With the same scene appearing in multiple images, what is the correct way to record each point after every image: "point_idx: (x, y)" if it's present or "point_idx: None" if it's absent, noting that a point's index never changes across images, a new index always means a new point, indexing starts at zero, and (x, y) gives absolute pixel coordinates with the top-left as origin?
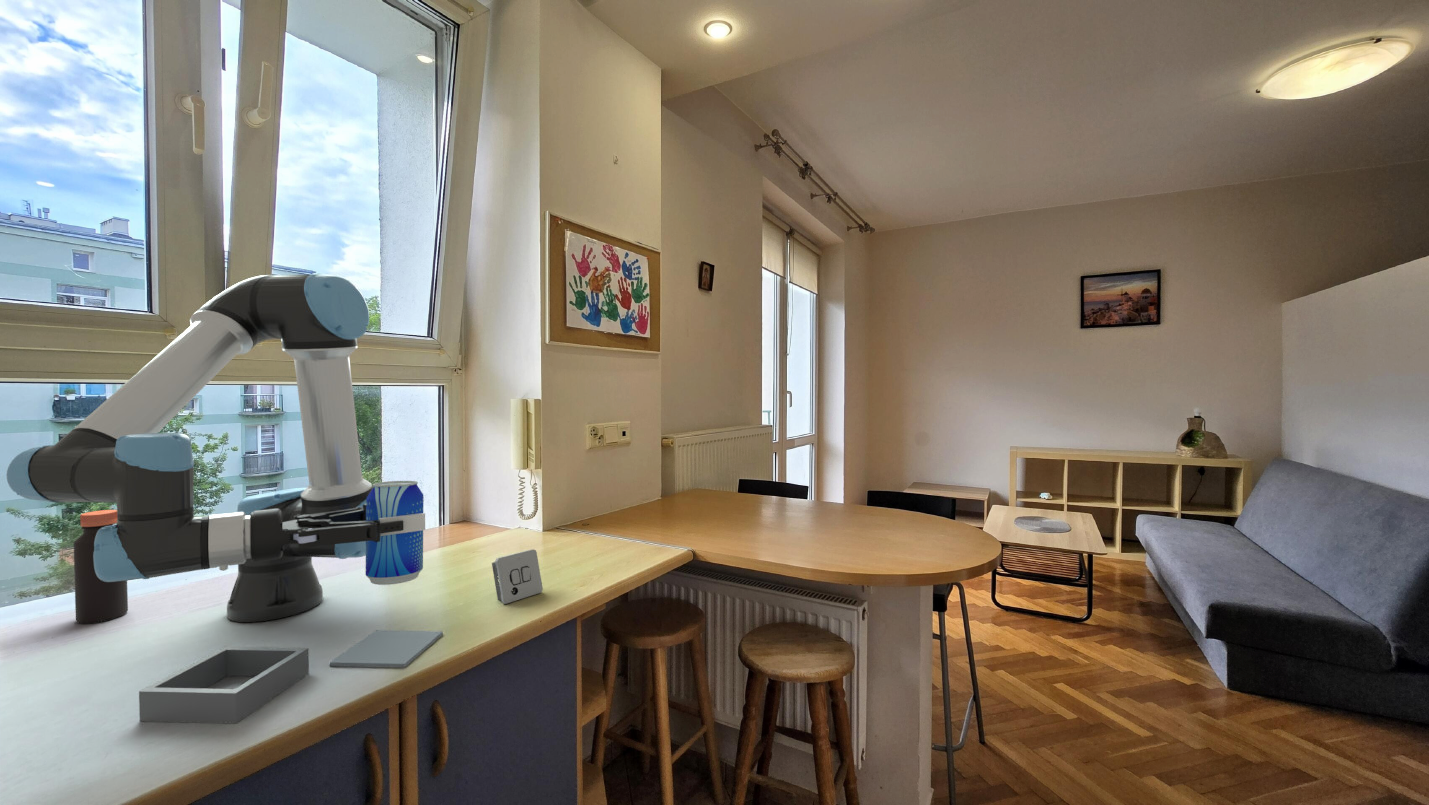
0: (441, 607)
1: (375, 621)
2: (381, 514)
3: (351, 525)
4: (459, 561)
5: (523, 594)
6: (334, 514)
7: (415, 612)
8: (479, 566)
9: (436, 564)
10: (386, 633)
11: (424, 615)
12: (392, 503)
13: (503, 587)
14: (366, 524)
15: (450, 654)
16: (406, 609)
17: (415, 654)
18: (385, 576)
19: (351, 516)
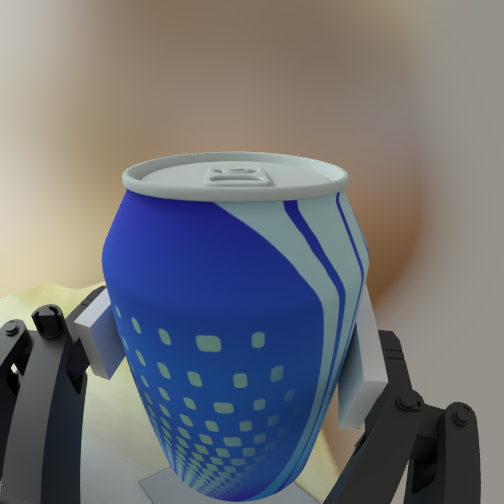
0: (132, 382)
1: (89, 454)
2: (335, 357)
3: (456, 500)
4: (32, 289)
5: None
6: (7, 455)
7: (113, 409)
8: (65, 289)
9: (13, 302)
10: (167, 481)
11: (137, 410)
12: (365, 281)
13: None
14: (462, 439)
15: (318, 449)
16: (90, 408)
17: (296, 485)
18: (299, 473)
19: (60, 409)
